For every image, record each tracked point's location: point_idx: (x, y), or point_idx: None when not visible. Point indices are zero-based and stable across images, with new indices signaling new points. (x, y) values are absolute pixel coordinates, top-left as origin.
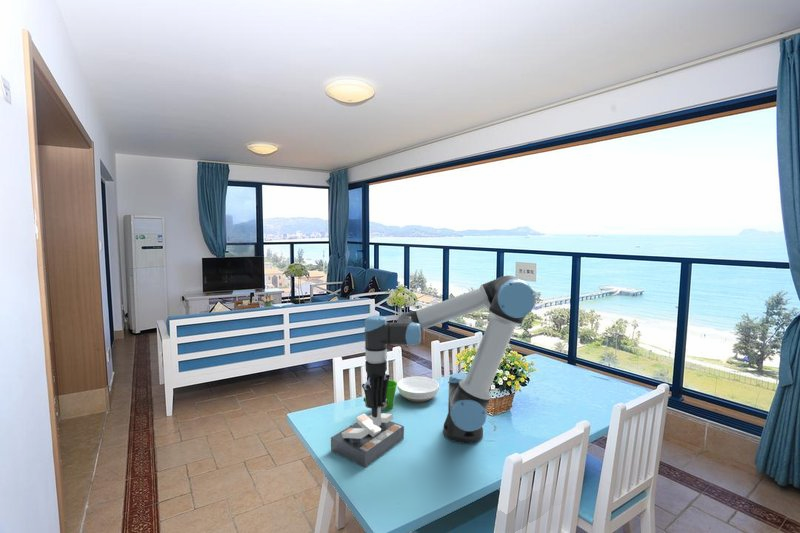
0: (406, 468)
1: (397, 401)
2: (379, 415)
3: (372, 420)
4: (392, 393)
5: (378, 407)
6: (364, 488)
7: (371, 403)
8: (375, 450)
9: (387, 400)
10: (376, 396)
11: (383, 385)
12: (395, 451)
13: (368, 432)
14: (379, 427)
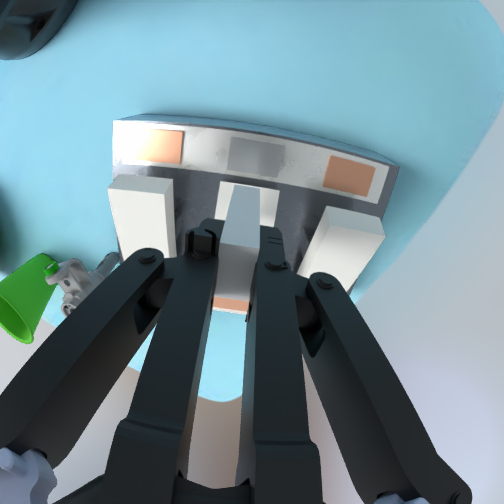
0: (317, 18)
1: (16, 258)
2: (246, 214)
3: (175, 256)
4: (13, 281)
5: (238, 257)
6: (452, 118)
7: (364, 324)
8: (331, 144)
9: (49, 272)
10: (288, 360)
11: (71, 402)
12: (234, 94)
13: (328, 210)
14: (220, 194)
